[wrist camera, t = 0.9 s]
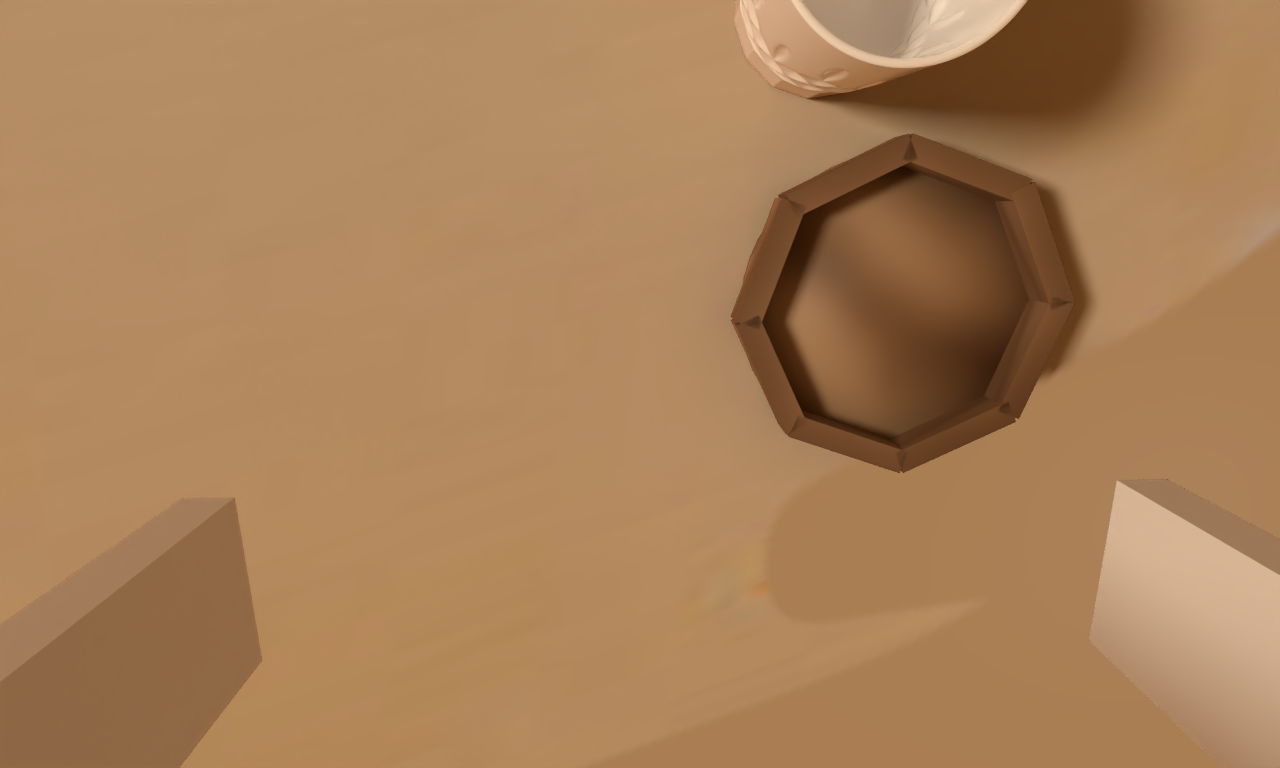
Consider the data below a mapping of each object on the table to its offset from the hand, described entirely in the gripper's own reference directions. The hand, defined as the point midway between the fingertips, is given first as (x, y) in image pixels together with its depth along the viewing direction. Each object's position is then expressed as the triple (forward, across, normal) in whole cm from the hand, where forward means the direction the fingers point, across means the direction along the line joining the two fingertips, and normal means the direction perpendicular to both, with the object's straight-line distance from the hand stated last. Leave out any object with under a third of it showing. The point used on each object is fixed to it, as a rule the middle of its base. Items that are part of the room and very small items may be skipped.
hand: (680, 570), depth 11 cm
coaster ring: (+21, +11, +1) cm, 24 cm away
